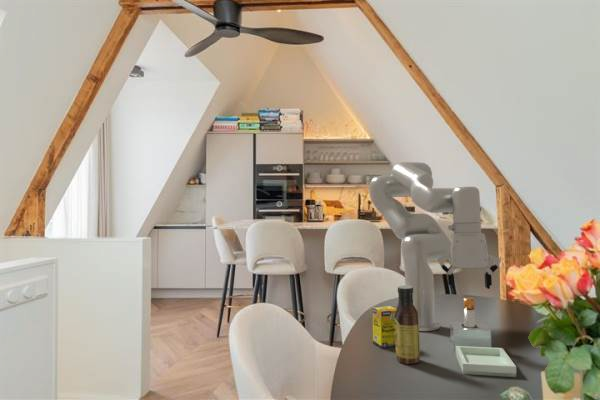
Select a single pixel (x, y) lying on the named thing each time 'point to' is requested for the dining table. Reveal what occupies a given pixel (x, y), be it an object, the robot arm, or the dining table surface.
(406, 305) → the sauce bottle
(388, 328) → the supplement box
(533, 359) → the dining table surface
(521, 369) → the dining table surface
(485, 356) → the tray
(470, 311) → the pin
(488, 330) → the block
